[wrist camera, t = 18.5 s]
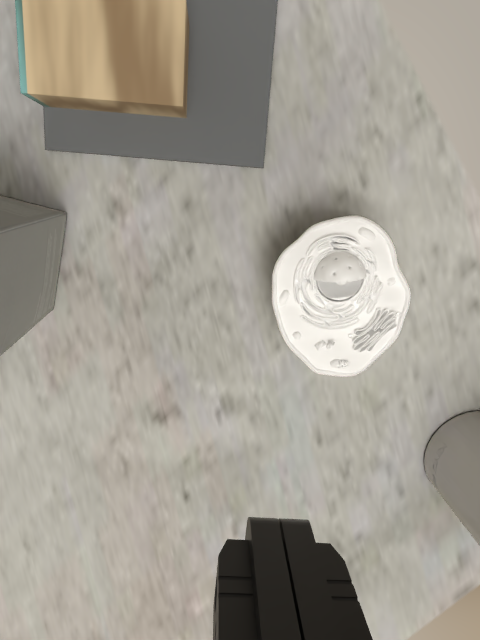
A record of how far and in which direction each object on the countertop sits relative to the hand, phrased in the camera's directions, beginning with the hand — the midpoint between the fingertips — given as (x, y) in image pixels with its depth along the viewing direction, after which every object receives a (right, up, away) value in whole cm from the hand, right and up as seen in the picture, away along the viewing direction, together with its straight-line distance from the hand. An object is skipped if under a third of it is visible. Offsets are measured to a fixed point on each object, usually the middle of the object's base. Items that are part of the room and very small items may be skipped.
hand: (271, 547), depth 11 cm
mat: (-7, +24, +20) cm, 32 cm away
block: (-4, +23, +18) cm, 29 cm away
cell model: (+6, +8, +25) cm, 27 cm away
